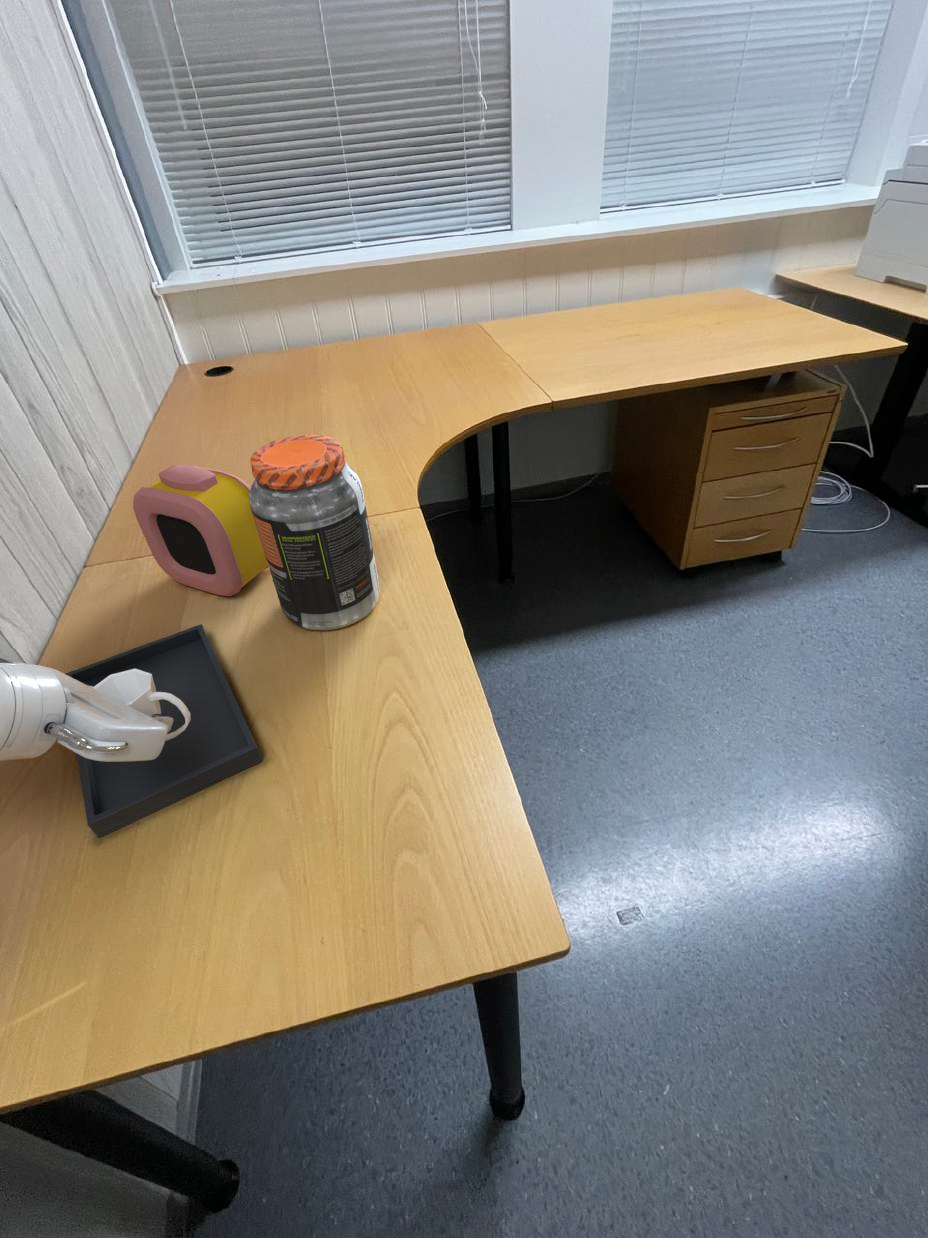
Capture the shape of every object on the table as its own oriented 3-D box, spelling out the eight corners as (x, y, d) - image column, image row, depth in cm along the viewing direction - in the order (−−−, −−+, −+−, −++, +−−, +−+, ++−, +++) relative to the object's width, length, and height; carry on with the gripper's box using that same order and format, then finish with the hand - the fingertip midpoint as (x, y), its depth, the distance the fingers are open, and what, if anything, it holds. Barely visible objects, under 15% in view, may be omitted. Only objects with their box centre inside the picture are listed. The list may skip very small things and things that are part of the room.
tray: (263, 761, 73) (256, 747, 72) (98, 838, 66) (87, 825, 64) (207, 637, 92) (201, 623, 90) (74, 687, 85) (64, 673, 83)
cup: (132, 718, 75) (106, 668, 70) (210, 716, 74) (188, 666, 69) (102, 761, 69) (71, 711, 64) (186, 760, 68) (161, 709, 64)
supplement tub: (393, 579, 101) (372, 431, 85) (361, 641, 90) (329, 483, 73) (307, 570, 104) (270, 425, 88) (264, 629, 93) (213, 474, 76)
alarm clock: (160, 581, 104) (113, 478, 91) (206, 548, 111) (168, 449, 99) (243, 607, 97) (206, 500, 85) (286, 570, 105) (257, 467, 92)
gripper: (98, 717, 53) (215, 714, 66) (-33, 648, 61) (94, 658, 73) (76, 786, 53) (197, 769, 66) (-53, 708, 61) (77, 707, 73)
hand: (141, 710), depth 70 cm, fingers closed on cup, 7 cm apart
